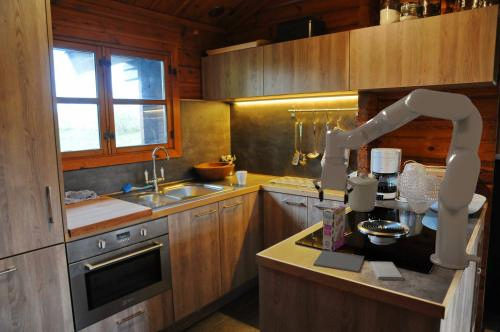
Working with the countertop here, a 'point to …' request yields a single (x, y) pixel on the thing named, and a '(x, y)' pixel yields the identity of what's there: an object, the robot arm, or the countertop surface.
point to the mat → (339, 261)
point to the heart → (425, 179)
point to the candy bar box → (333, 227)
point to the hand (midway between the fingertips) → (333, 202)
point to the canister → (363, 193)
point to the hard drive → (386, 271)
